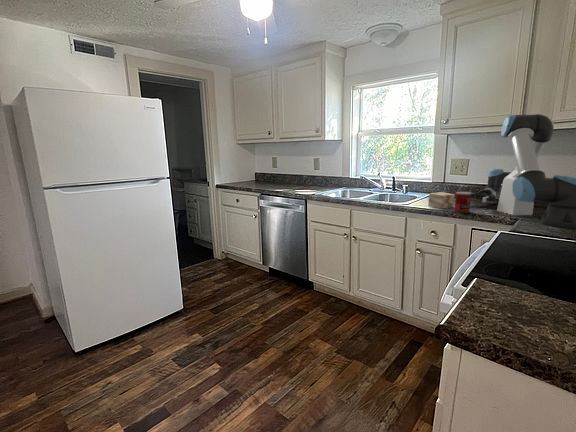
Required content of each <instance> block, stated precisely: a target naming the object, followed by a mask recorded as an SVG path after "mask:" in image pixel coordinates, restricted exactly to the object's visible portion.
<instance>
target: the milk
mask: <svg viewBox="0 0 576 432" xmlns="http://www.w3.org/2000/svg"><path fill="white" fill-rule="evenodd" d="M511 172H512V173H510V174H509V175H508V176H506V177H505V178H504V180H503V184H501V193H500V197H499V199H498V204H497V207H496V208H497V209H496V211H497V212H500V213H503V212H504V213H503V214H506V213H508V214H507V215H510V214H511V215H510V216H532V215H533V213H534V205H535V202H525V201H519V200H517V199H516V198H515V197H514V195H513V191H512V189H513V187H512V186H513V182H514V180H515V179H516V177H517V176H518V175H519V174H518V170H517V165H516V166H515V168H514V170H513V171H511Z"/></svg>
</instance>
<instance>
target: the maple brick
mask: <svg viewBox="0 0 576 432" xmlns="http://www.w3.org/2000/svg"><path fill="white" fill-rule="evenodd" d="M455 197H456V193H455V194H454V193H448V192H440V191H438V192H430V193H429V195H428V206H429V207H433V208H438V209H448V208H454V205H455Z"/></svg>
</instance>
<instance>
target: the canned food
mask: <svg viewBox="0 0 576 432" xmlns="http://www.w3.org/2000/svg"><path fill="white" fill-rule="evenodd" d="M471 200H472V198H471V192H469V191H456V193H455V198H454V207H453V208H454V209H453V210H454V212H456V213H461V214H462V213H464V214H467V213H470V208H471Z"/></svg>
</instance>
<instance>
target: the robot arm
mask: <svg viewBox="0 0 576 432" xmlns="http://www.w3.org/2000/svg"><path fill="white" fill-rule="evenodd" d="M501 126H502V127H501V131H500V133H501V134H500V135H501V137H502V138H507V140H506V141H507V142H508V143H510V144H511V145H512V150H513V154H514V159H515V165H516V166H517V170H518V174H519V175H518V176H517V177H516V179H515V180H514V182H513V186H512V187H513V189H512V191H513V195H514V197H515V198H516V199H517V200H519V201H525V202H534V203H548V205H547V208H546V210H545V212H544V213H543V214H542V216H541V219H540V223H541V224H543V225H546V226H549V227H550V226H552V227H556V228H562V229H563V228H564V229H576V177H574V176H566V175H559V174H555V175H553V177H547V176H546V173H545V172H544V171H542V170H541V169H540V166H539V161H538V158H539V156H540V154H541V152H542V150H543V149H544V146H545V145H546V143H548V142H550V141H551V139H552V137H553V134H554V124H553V121H552V119H550V117H548V116H547V115H544V114H541V113H540V114H539V113H538V114H512V115H511V114H510V115H507V116H506V117H505V119H504V121H503V123H502V125H501ZM512 172H513V171H511V172H510V171H504V169H503V168H491V169H489V171H488V174H487V175H488V176H487V186H486V188H484V189H480V190H479V191H478V192H470V193H471V199H472V198H473V199H478V200H480V201H481V202H482V203H488V202H493V203H494V202H496V199H498V198H500V193H501V189H502V184H503V180H504V178H505V177H506V176H508V175H509V174H510V173H512Z"/></svg>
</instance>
